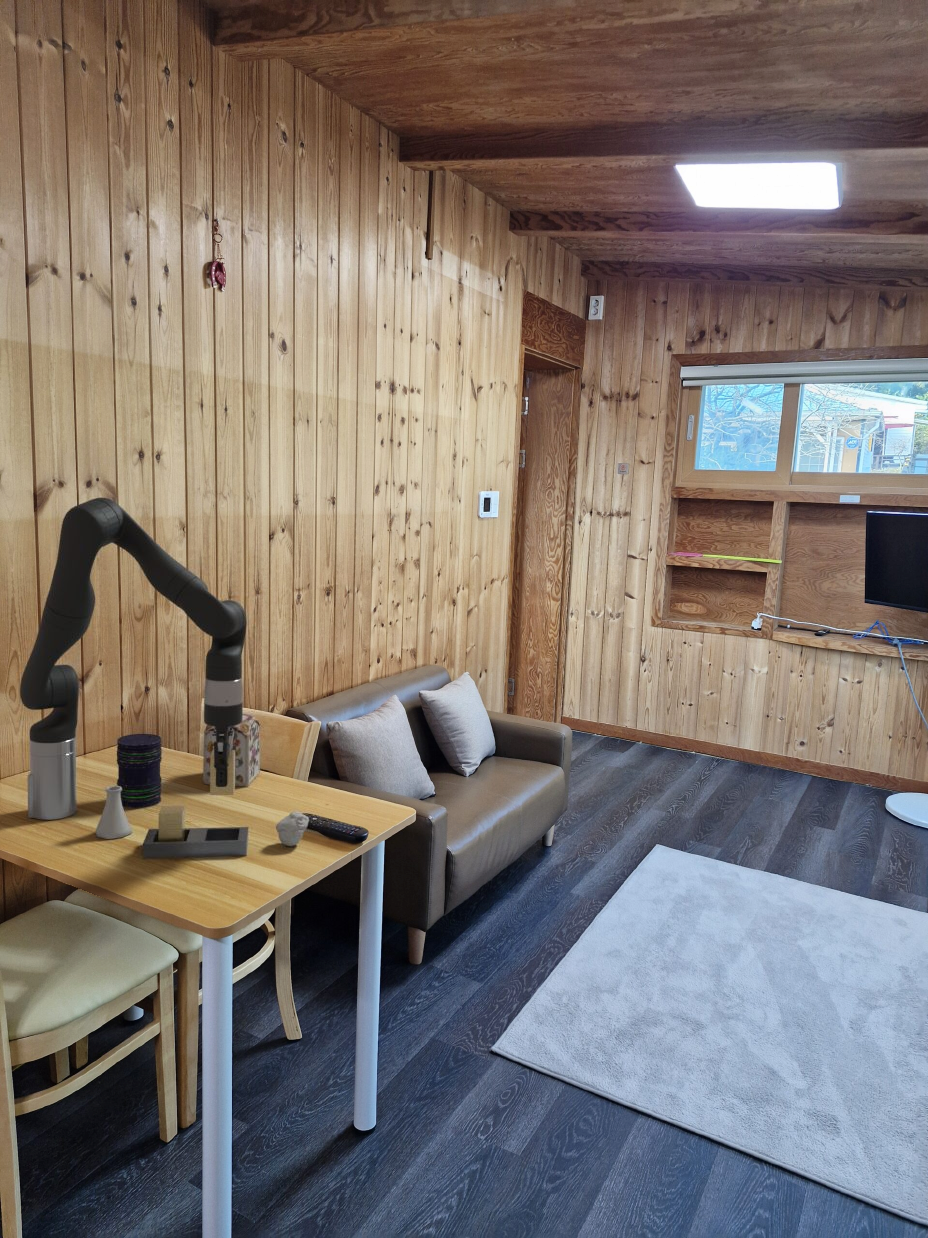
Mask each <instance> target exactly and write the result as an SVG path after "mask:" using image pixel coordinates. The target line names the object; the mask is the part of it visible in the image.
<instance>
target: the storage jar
mask: <svg viewBox="0 0 928 1238" xmlns="http://www.w3.org/2000/svg"><path fill="white" fill-rule="evenodd" d="M116 742H117V743H116V745H117V746H116V749H117V750H116V764H117V765H118V766H117V767H118V771H117V772H118V776H117V777H118V778H117V780H116V786H121V788H122V791H121V792H120V795H121V802H122V807H123V809H124V808H125V809H145V808H151V807H154V806H156V805H158V804H160V803H161V801H162V796H161V795H162V788H163V787H162V782H163V781H162V780H163V779H162V777H161V763H162V758H163V757H162V754H163V752H162V750H163V749H162V737H161V735H158V734H157V735H156V734H151V733H135V734H134V733H132V734H126V735H123V736H120V737H118V738H117V741H116Z"/></svg>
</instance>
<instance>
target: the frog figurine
mask: <svg viewBox="0 0 928 1238" xmlns="http://www.w3.org/2000/svg"><path fill="white" fill-rule="evenodd" d="M309 820H310V819H309V816H307V815H305V814H303V813H302V812H300V811H293V812H291V813H289V814H288V815H286V816H285V817H284V818H282V819H281V820H280V821H278V823H277V824H276V825H275V829H276V832H277V833H278V839H279V841H280V843H282V844H283V845H284V846H287V847H294V846H296V845H297V844H299V843H300V841H301V840H302V838H303V836H304V832H306V831H307V828H308V825H309Z"/></svg>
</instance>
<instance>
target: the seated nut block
mask: <svg viewBox="0 0 928 1238" xmlns="http://www.w3.org/2000/svg"><path fill="white" fill-rule="evenodd" d="M185 806H186V805H161V807H160V809H159V811H158V829H159V842H184V840H185V823H186V822H185V820H186V819H185V816H186V815H185V812H186V811H185V810H186V809H185V808H186V807H185Z"/></svg>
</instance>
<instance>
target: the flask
mask: <svg viewBox="0 0 928 1238" xmlns="http://www.w3.org/2000/svg"><path fill="white" fill-rule="evenodd" d="M104 791H105V792H106V799H105V804H104V805H105V806H104V807H103V810H102V814H101V816H100V819H99V821H98V823H97V826H96V828H95V831H94V833H95V835H96V837H98V838H102V839H104V840H105V839H106V840H112V839H113V840H114V839H118V838H123V837H126V836H128V835H131V834H133V830H132V828H131V827H132V826H131V825H130V823H129V820H128V818H127V816H126V812H125V810H124V807H122V802H121V795H120V792H121V791H122V788H121V786H117V785H111V786H108V787H105V790H104Z"/></svg>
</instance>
